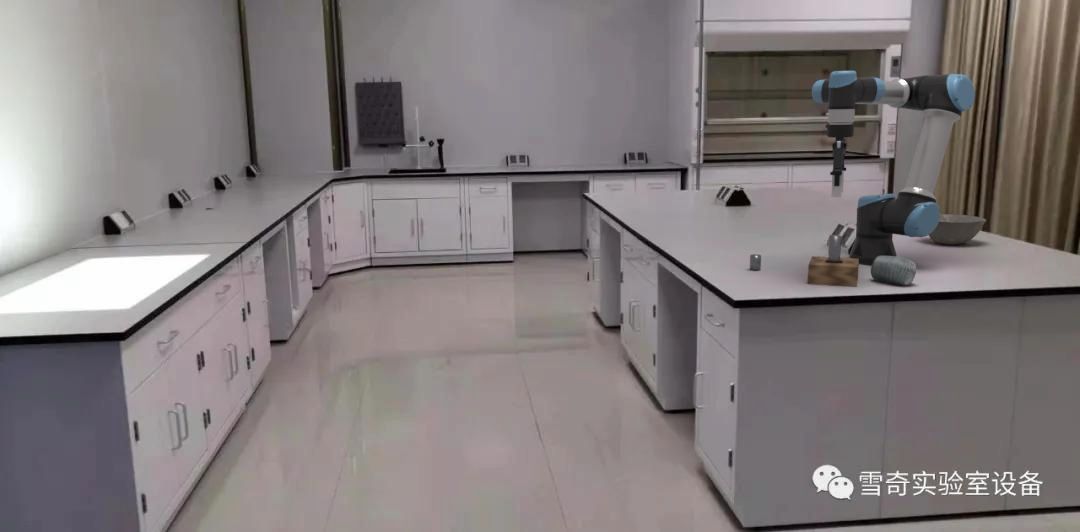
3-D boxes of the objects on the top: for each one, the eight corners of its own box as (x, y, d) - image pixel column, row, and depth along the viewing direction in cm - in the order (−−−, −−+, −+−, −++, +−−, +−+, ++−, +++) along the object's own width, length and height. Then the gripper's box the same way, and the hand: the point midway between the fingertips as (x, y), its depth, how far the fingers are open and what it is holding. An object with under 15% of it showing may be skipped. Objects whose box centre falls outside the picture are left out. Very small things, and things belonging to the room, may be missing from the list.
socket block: (857, 277, 257) (858, 258, 255) (856, 286, 244) (857, 267, 243) (811, 274, 262) (812, 256, 261) (807, 283, 249) (808, 264, 248)
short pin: (761, 269, 272) (761, 254, 271) (759, 271, 269) (760, 256, 268) (750, 268, 274) (751, 254, 273) (749, 270, 270) (749, 255, 270)
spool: (858, 270, 252) (877, 242, 250) (876, 280, 257) (894, 253, 255) (891, 288, 240) (911, 260, 238) (909, 299, 245) (928, 271, 243)
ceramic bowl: (995, 248, 301) (998, 221, 299) (932, 249, 301) (934, 222, 299) (965, 238, 323) (967, 213, 321) (907, 239, 323) (908, 214, 321)
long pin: (839, 279, 254) (841, 235, 251) (838, 282, 251) (841, 237, 248) (827, 279, 255) (829, 234, 253) (826, 281, 252) (828, 236, 249)
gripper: (829, 122, 257) (826, 190, 261) (824, 125, 234) (821, 199, 238) (855, 122, 254) (851, 190, 258) (852, 125, 231) (849, 199, 235)
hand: (837, 194), depth 248 cm, fingers open, 13 cm apart
